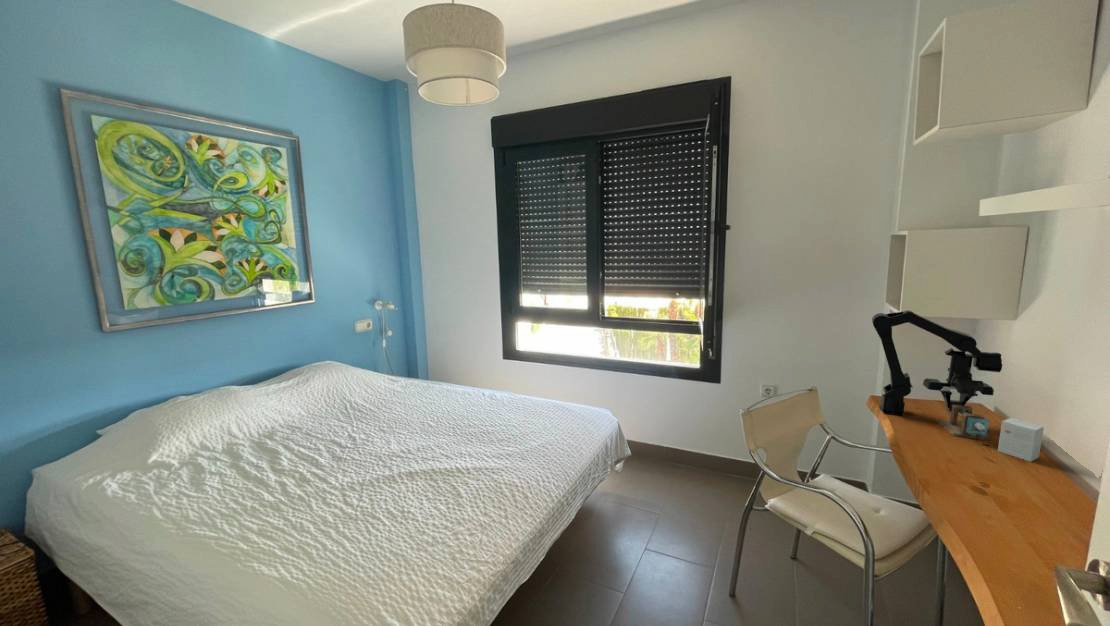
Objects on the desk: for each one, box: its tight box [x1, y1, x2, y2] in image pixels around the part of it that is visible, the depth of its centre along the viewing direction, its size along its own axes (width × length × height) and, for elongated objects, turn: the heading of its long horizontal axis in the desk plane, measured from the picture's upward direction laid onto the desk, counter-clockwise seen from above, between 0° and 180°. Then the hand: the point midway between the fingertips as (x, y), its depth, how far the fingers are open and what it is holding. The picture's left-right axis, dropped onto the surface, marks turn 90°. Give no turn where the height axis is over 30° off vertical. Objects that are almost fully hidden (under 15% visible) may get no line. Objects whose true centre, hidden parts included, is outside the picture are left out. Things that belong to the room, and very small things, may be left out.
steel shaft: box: [946, 399, 986, 431], centre depth 156 cm, size 3×21×4 cm, turn 159°
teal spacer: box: [966, 417, 990, 435], centre depth 150 cm, size 5×1×5 cm, turn 69°
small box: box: [997, 417, 1045, 463], centre depth 141 cm, size 8×6×10 cm
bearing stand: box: [937, 404, 991, 441], centre depth 158 cm, size 10×13×8 cm
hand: (954, 408), depth 165 cm, fingers closed on steel shaft, 3 cm apart
